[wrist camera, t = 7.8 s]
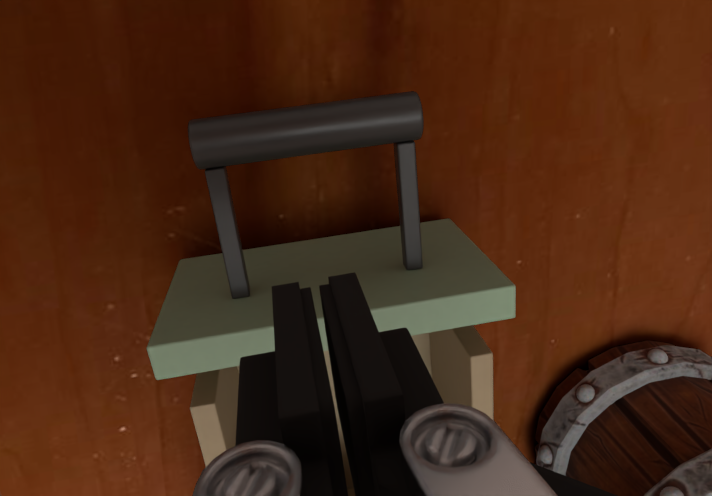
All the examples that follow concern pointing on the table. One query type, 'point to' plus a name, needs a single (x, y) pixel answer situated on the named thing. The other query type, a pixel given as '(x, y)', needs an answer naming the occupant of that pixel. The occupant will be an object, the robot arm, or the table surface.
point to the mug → (633, 422)
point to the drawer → (325, 267)
